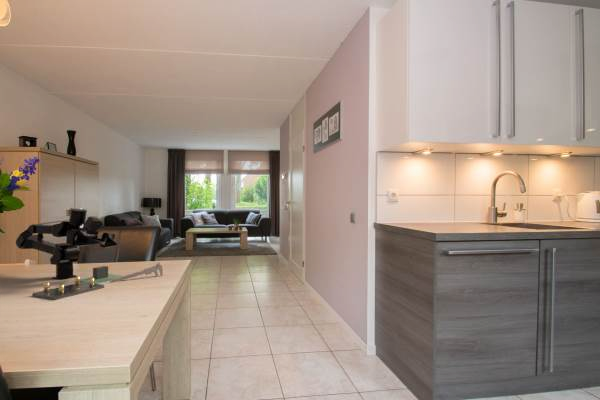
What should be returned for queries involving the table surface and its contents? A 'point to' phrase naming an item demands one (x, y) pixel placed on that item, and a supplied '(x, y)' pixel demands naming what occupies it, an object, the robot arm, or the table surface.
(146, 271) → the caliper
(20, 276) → the table surface
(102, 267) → the board
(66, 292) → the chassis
